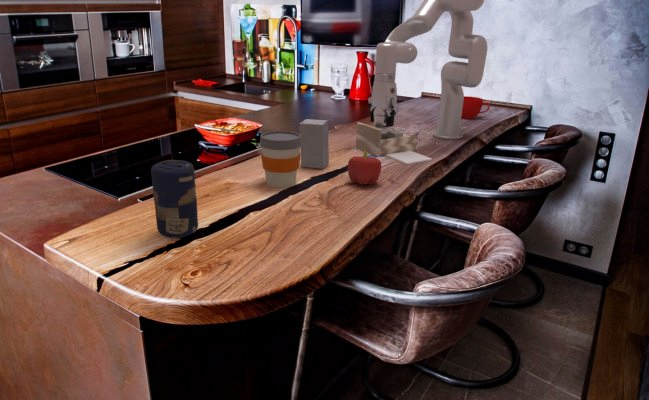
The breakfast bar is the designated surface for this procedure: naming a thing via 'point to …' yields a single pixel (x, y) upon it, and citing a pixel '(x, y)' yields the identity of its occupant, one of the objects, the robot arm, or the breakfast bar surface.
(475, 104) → the ceramic cup
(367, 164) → the vegetable
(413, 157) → the pad
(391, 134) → the offcut top
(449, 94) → the robot arm
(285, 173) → the reusable coffee cup
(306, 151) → the skincare box
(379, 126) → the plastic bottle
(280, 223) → the breakfast bar surface
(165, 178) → the canister
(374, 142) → the frame
